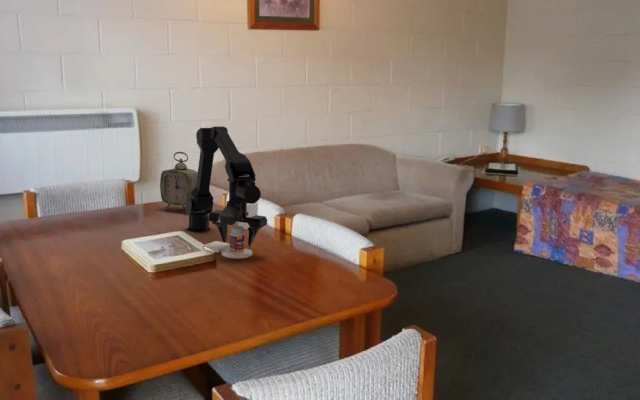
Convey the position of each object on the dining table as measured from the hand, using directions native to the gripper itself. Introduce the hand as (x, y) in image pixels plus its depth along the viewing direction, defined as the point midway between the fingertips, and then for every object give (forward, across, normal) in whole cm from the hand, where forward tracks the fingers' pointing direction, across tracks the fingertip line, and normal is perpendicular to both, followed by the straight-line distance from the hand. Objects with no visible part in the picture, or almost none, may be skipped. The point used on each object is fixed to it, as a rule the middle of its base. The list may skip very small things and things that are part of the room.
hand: (237, 244), depth 197 cm
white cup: (+4, -13, +32) cm, 35 cm away
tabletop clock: (+4, -49, +42) cm, 65 cm away
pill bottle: (+3, 0, 0) cm, 3 cm away
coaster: (+3, 0, 0) cm, 3 cm away
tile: (+3, -8, +6) cm, 10 cm away
